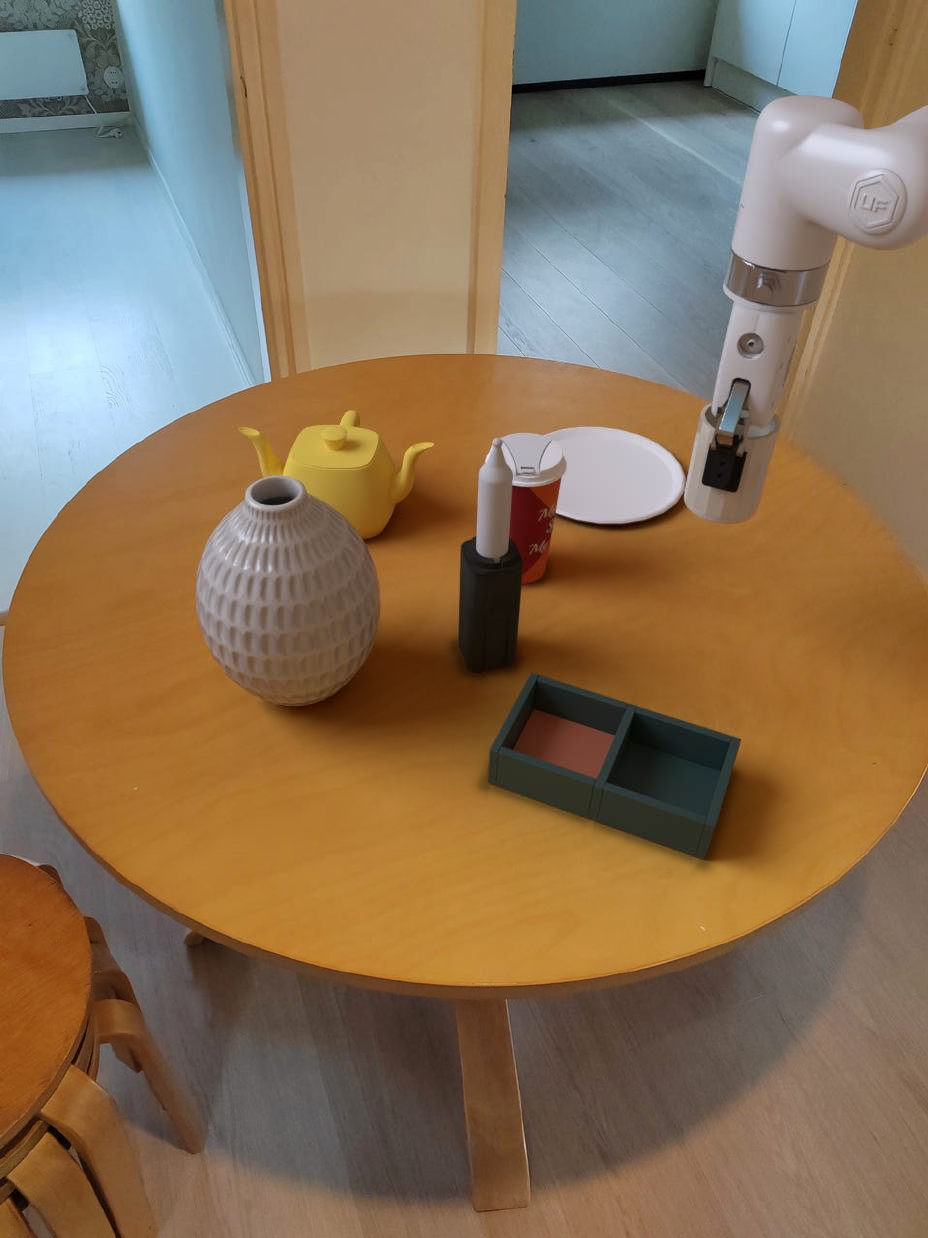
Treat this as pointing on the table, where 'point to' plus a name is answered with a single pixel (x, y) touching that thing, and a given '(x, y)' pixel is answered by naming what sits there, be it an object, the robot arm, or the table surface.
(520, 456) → the coffee cup
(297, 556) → the vase
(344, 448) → the teapot
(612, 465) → the plate
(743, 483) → the cup
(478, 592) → the candle
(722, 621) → the table surface
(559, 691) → the organiser
